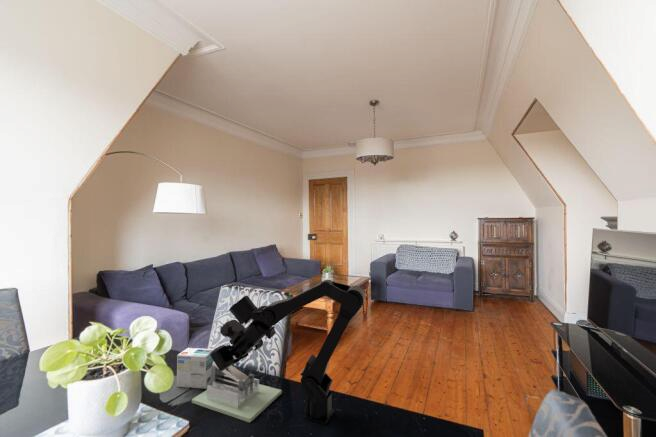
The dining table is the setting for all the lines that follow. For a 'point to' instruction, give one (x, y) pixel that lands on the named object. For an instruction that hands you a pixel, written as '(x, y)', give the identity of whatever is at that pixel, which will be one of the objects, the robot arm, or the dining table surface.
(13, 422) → the dining table surface
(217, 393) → the heat sink
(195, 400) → the pale green board
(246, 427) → the dining table surface
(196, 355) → the light bulb box
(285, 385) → the dining table surface
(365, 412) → the dining table surface
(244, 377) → the steel strap
